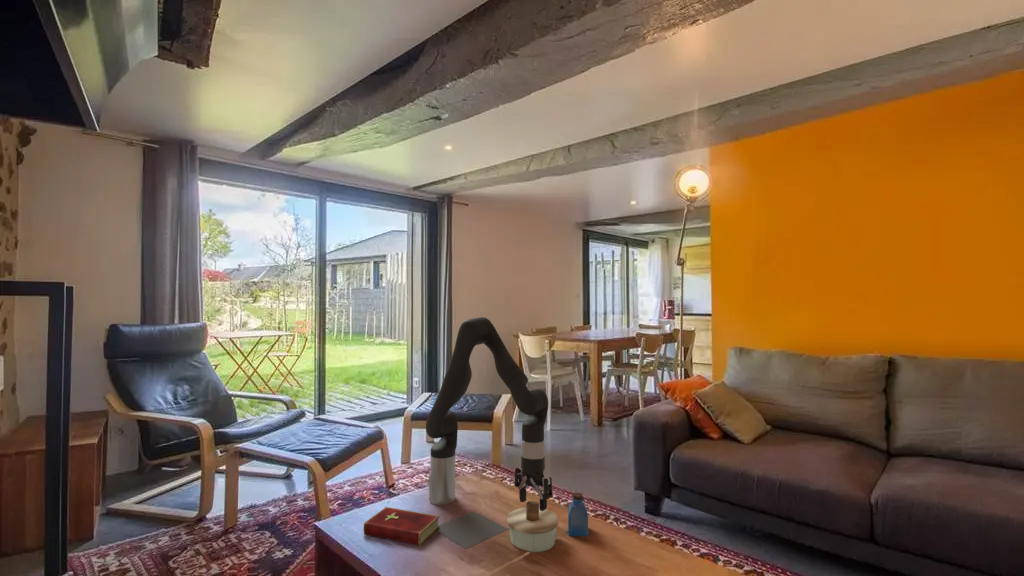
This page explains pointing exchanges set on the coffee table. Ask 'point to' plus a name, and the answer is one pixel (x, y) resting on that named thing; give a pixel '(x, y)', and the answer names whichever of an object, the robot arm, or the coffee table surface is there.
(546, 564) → the coffee table surface
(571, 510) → the perfume bottle
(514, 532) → the bowl
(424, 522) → the hardcover book
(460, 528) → the mat
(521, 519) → the lid
